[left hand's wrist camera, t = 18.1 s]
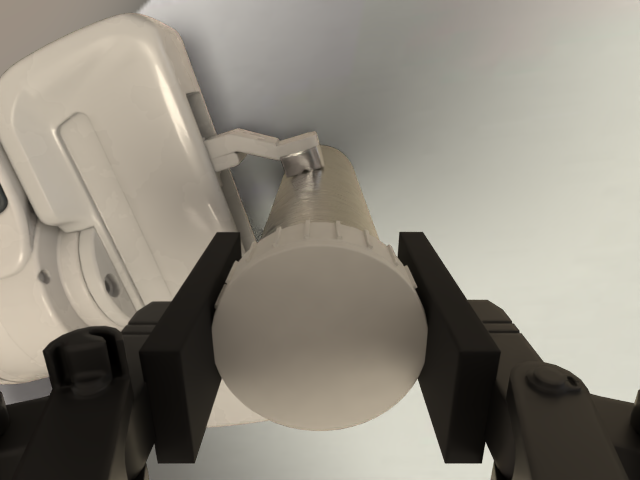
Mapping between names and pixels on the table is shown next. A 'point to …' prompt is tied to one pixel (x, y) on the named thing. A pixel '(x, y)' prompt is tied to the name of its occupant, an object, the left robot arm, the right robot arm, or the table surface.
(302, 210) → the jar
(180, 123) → the right robot arm
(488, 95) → the table surface
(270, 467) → the table surface
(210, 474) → the table surface
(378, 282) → the lid
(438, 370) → the left robot arm
